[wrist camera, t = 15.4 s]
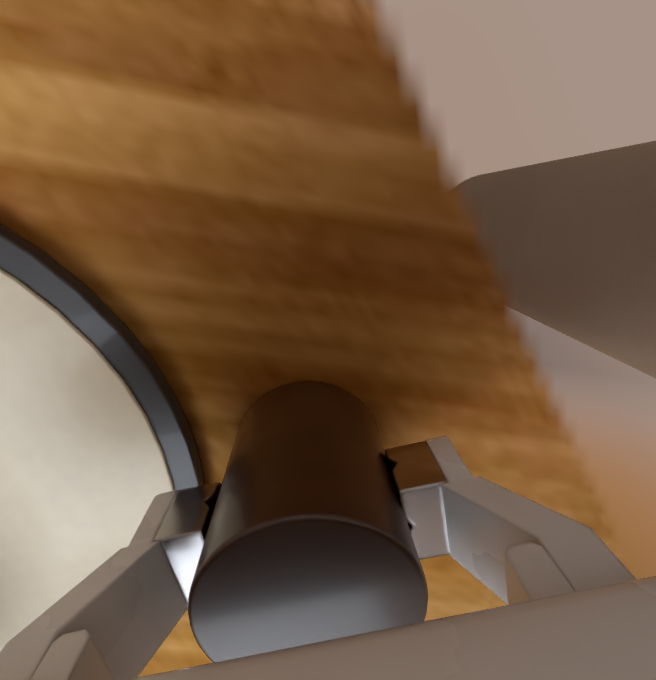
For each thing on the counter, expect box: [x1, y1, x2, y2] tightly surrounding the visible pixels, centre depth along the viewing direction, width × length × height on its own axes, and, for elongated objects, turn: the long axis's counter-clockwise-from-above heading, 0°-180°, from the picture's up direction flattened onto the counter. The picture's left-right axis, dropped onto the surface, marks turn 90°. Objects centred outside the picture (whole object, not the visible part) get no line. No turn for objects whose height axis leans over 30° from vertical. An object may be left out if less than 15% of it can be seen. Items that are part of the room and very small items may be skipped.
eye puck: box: [188, 381, 428, 663], centre depth 9 cm, size 4×4×5 cm
